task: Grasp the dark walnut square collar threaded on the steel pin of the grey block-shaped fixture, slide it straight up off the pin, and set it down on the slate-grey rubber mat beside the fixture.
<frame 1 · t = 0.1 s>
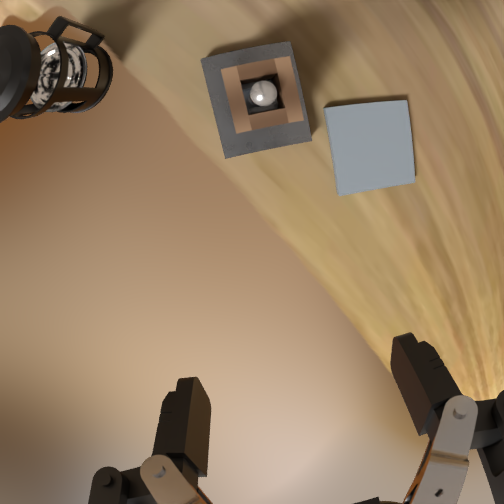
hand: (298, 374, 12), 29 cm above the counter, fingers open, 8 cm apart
grey block-shaped fixture: (256, 98, 33), on the counter
french press: (83, 74, 30), on the counter
mat: (371, 145, 36), on the counter
collar: (259, 96, 27), point 7 cm above the counter, touching grey block-shaped fixture
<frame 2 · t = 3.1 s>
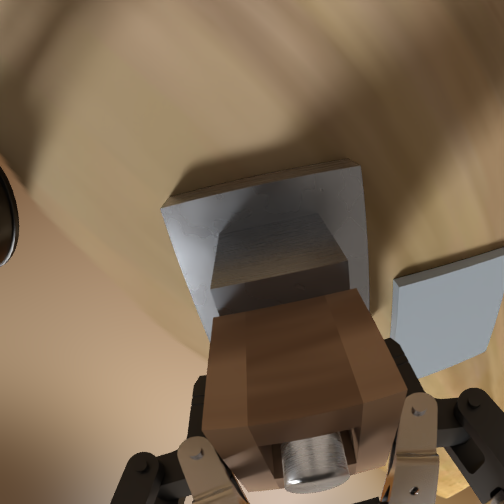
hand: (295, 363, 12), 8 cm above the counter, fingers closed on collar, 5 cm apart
grey block-shaped fixture: (278, 271, 19), on the counter
mat: (447, 319, 22), on the counter
collar: (295, 354, 13), point 7 cm above the counter, touching gripper, grey block-shaped fixture
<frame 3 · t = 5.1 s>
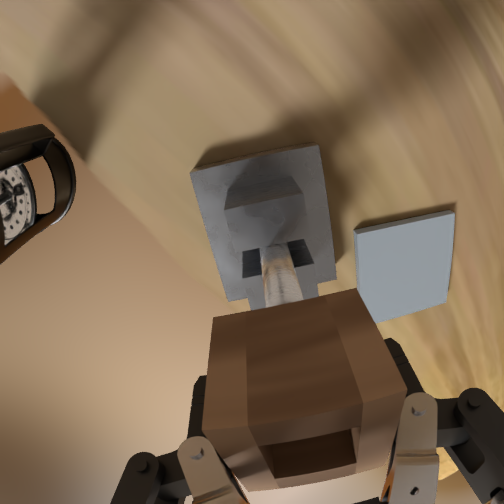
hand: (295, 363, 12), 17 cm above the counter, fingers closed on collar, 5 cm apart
grey block-shaped fixture: (268, 221, 27), on the counter
french press: (41, 175, 24), on the counter
mat: (405, 268, 30), on the counter
collar: (295, 354, 13), point 16 cm above the counter, touching gripper
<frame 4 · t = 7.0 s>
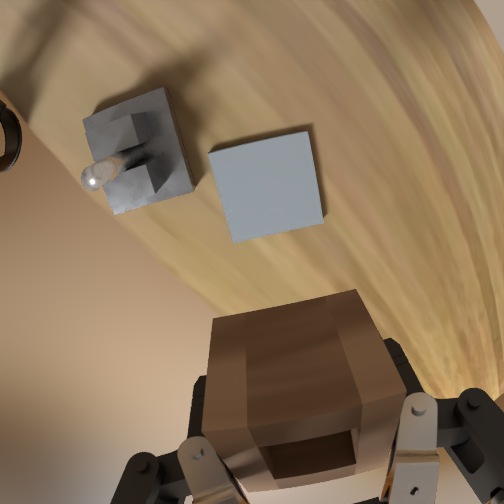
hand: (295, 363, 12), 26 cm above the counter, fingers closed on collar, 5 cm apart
grey block-shaped fixture: (140, 150, 33), on the counter
french press: (1, 136, 30), on the counter
mat: (268, 186, 35), on the counter
collar: (294, 355, 13), point 26 cm above the counter, touching gripper
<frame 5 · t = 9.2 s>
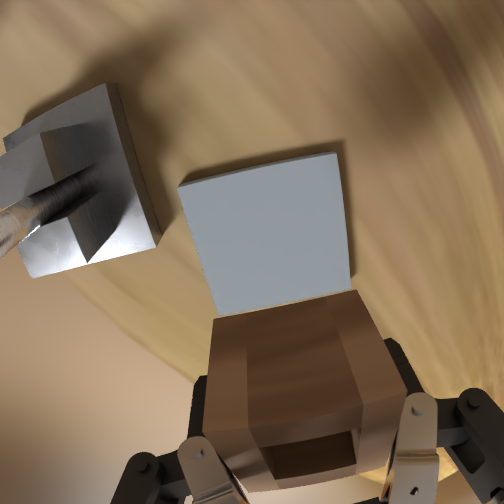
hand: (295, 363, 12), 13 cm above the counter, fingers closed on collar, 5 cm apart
grey block-shaped fixture: (81, 181, 21), on the counter
mat: (271, 236, 23), on the counter
collar: (295, 355, 13), point 12 cm above the counter, touching gripper
when the fingers open (3 cm above the counter, at t = 11.3 s): collar drops 1 cm, resting on mat.
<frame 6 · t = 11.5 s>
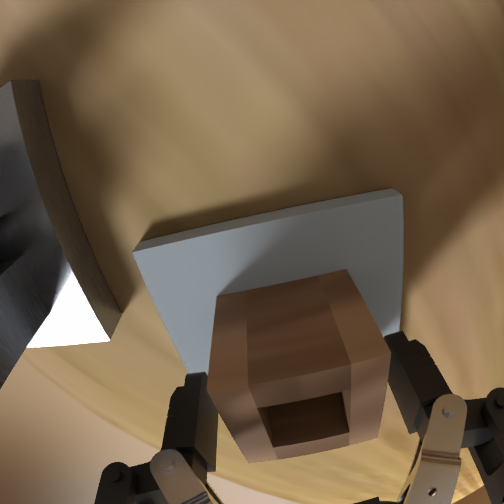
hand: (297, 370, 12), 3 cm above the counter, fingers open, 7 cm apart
grey block-shaped fixture: (6, 231, 12), on the counter
mat: (287, 319, 15), on the counter
collar: (291, 332, 14), point 1 cm above the counter, touching mat
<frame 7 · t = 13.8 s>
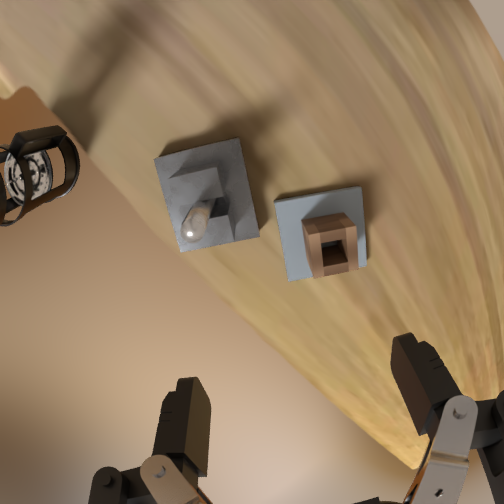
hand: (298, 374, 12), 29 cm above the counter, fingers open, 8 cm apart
grey block-shaped fixture: (209, 193, 38), on the counter
french press: (55, 161, 35), on the counter
mat: (322, 233, 40), on the counter
collar: (325, 236, 39), point 1 cm above the counter, touching mat
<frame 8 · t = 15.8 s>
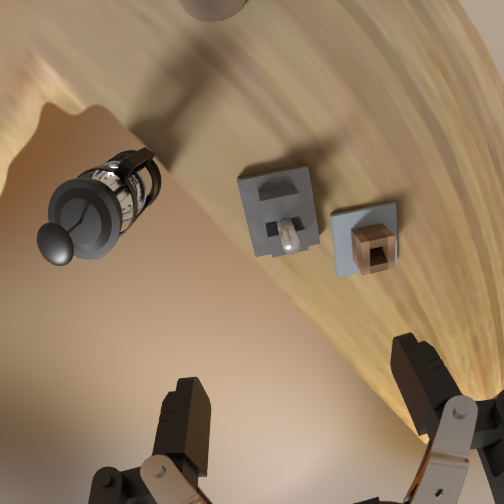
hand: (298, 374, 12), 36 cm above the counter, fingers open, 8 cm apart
grey block-shaped fixture: (279, 209, 46), on the counter
french press: (134, 177, 44), on the counter
mat: (365, 239, 49), on the counter
collar: (367, 241, 48), point 1 cm above the counter, touching mat
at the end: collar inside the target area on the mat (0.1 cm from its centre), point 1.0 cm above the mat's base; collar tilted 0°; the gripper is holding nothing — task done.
